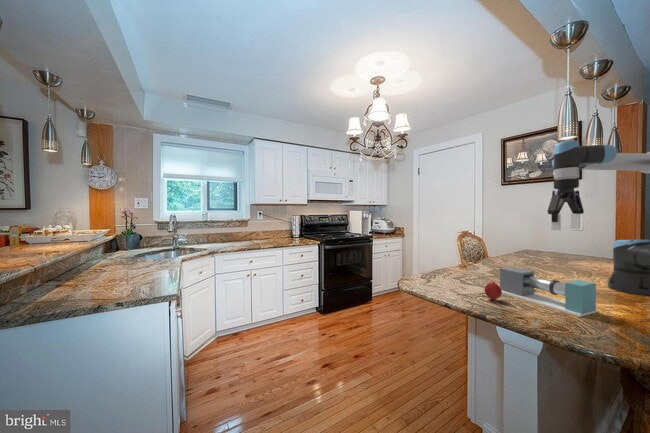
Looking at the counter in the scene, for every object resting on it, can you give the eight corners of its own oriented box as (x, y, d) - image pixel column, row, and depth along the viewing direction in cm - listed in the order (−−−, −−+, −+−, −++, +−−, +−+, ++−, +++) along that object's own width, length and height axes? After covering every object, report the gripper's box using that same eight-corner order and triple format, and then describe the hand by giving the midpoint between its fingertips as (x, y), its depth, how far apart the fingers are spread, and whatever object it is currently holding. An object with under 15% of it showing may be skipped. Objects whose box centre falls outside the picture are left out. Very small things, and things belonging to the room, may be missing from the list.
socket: (579, 305, 90) (579, 279, 90) (595, 310, 86) (595, 283, 86) (565, 309, 88) (565, 282, 87) (581, 314, 83) (581, 286, 83)
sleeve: (511, 287, 112) (511, 267, 112) (534, 293, 104) (534, 271, 104) (500, 289, 110) (499, 268, 110) (521, 296, 101) (521, 273, 101)
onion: (485, 301, 99) (485, 281, 98) (483, 296, 104) (483, 278, 104) (502, 303, 96) (502, 283, 96) (500, 298, 101) (500, 279, 101)
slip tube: (519, 287, 103) (519, 274, 103) (528, 285, 105) (528, 273, 105) (578, 302, 85) (578, 287, 85) (587, 300, 87) (587, 285, 87)
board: (514, 289, 113) (514, 287, 113) (597, 312, 87) (597, 309, 87) (497, 292, 109) (497, 290, 109) (579, 316, 83) (579, 314, 83)
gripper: (572, 181, 109) (571, 227, 109) (536, 179, 100) (536, 230, 101) (595, 178, 102) (595, 228, 102) (558, 176, 93) (558, 231, 93)
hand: (565, 229), depth 101 cm, fingers open, 13 cm apart
